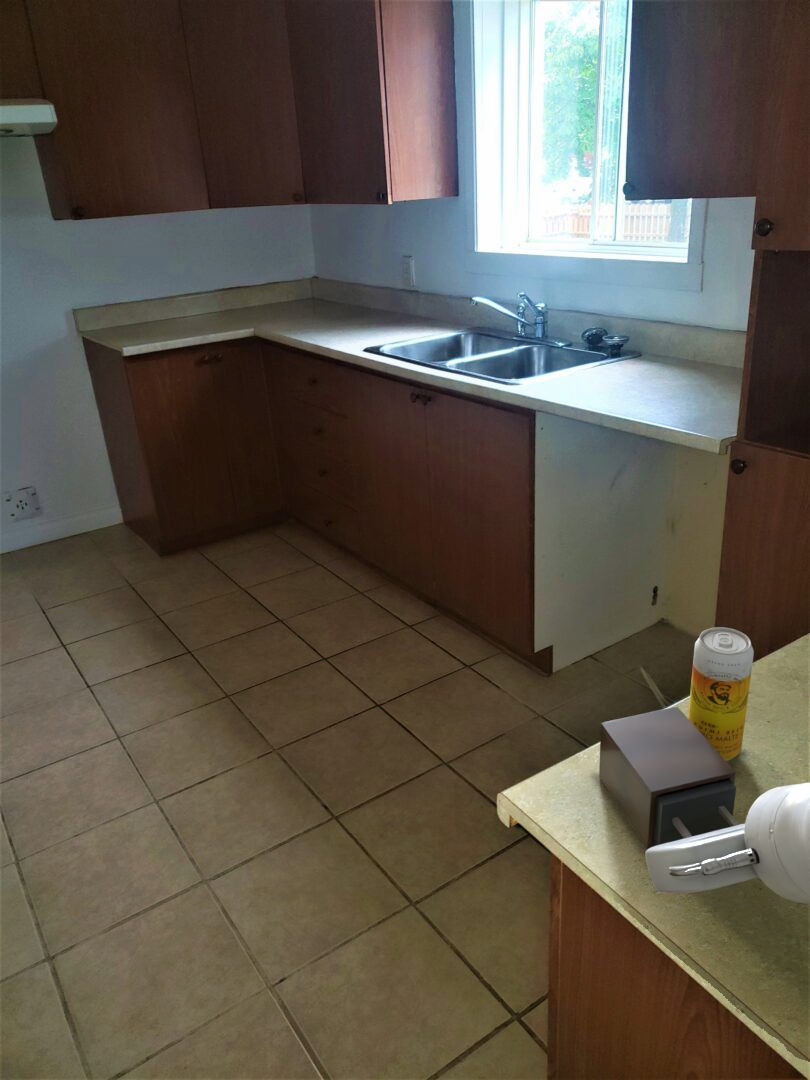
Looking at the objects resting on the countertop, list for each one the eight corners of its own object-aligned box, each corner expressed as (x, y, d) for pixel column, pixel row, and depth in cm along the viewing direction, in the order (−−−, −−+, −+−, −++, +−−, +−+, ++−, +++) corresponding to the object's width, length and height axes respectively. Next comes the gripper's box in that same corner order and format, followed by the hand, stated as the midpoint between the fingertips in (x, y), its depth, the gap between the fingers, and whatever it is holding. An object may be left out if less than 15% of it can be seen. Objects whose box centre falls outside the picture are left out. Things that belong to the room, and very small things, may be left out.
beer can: (687, 762, 94) (697, 653, 87) (684, 729, 99) (693, 623, 93) (743, 768, 92) (758, 657, 86) (737, 733, 98) (750, 627, 91)
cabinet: (728, 829, 84) (735, 771, 81) (647, 850, 83) (651, 792, 80) (672, 760, 94) (677, 706, 91) (598, 777, 93) (600, 722, 89)
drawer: (756, 865, 79) (763, 818, 77) (681, 885, 78) (686, 837, 75) (677, 767, 92) (681, 724, 89) (612, 782, 91) (614, 739, 88)
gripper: (701, 918, 61) (632, 908, 74) (935, 855, 65) (831, 855, 77) (673, 831, 63) (611, 835, 76) (901, 774, 67) (805, 787, 79)
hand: (724, 845), depth 77 cm, fingers closed, pressing on drawer
